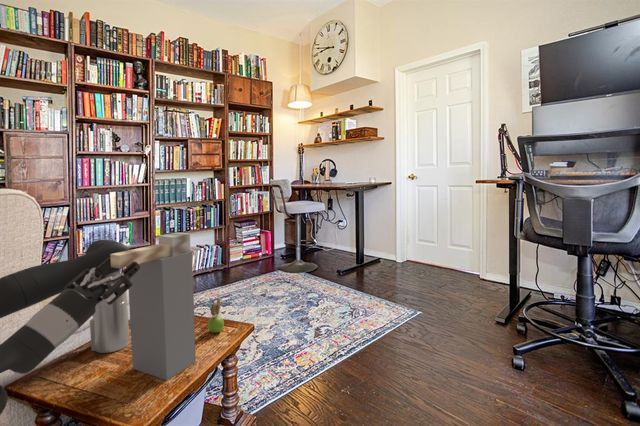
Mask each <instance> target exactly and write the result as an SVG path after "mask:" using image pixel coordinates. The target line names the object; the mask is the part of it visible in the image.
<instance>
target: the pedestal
mask: <svg viewBox="0 0 640 426" xmlns="http://www.w3.org/2000/svg"><path fill="white" fill-rule="evenodd" d="M138 265H139V266H140V269H139V270H138V271H137V272H136V273H135V274H134V275H133V276H132V277H131V278H130V279H129V280H130V282H131V283H132V286H131V287H130V288H129V289H128V301H129V325H130V339H131V358H132V359H131V361H132V369H133V370H135V371H139V372H142V373H144V374H148V375H150V376H153V377H156V378H158V379H162V380H164V381H168V380H169V381H170V379H172V378H173V377H175V376H177V375H178V374H179V373H181V372H183V371H184V370H185V369H187V368H189V367H190V366H192V365H193V364H195V363H196V362H197V361H196V360H197V359H196V354H197V353H196V334H195V333H196V331H195V329H196V328H195V327H196V326H195V301H194V300H195V299H194V298H195V297H194V273H193V272H194V270H193V267H194V266H193V251H191V252H187V253H183V254H180V255H176V256H167V257H163V258H160V259H156V260H152V261H148V262H144V263H140V264H138Z"/></svg>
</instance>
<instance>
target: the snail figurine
mask: <svg viewBox="0 0 640 426" xmlns="http://www.w3.org/2000/svg"><path fill="white" fill-rule="evenodd" d="M216 295H217V298H216V302H213V303H212V304H211V307H210V315H211V317H210V318H209V319H208V321H207V323H206V324H207V329H208V331H209V332H211V333H214V334H216V333H220V332H221V331H222V330H223V328H224V326H225V321H224V319H223V318H222V317H221V316H220V312H221V296H222V294H220V293H219V294H216Z"/></svg>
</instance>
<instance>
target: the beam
mask: <svg viewBox="0 0 640 426" xmlns="http://www.w3.org/2000/svg"><path fill="white" fill-rule="evenodd" d="M187 252H192V251H191V234H190V233H186V232H178V231H177V232H171V233H165V234H160V235H158V244H153V245H149V246H143V247H139V248H138V247H137V248H135V249H134V248H133V249H129V250H128V251H123V252H118V253H114V254H110V258H111V267H114V268H119V269H120V268H122V269H123V268H124V269H125V268H126V267H127V266H129V265H130V264H131V263H132V262H137V263H138V264H140V263H144V262H148V261H152V260H156V259H160V258H163V257H167V256H176V255H180V254H183V253H187Z"/></svg>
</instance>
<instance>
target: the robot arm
mask: <svg viewBox="0 0 640 426" xmlns="http://www.w3.org/2000/svg"><path fill="white" fill-rule="evenodd" d="M128 250H130V249H129V247H128V246H127V245H125V244H123V243H122V242H120V241H115V240H110V239H98V240H95V241H93V242H91V243H90V245H88V247H87V249H86V250H85V254H83V255H80V256H79V257H74V258H72V259H66V260H61V261H55V262H49V263H44V264H39V265H34V266H30V267H28V268H25V269H21V270H18V271H15V272H13V273H10V274H7V275H4V276H2V277H0V319H3V318H5V317H7V316H10V315H12V314H14V313H17V312H19V311H22V310H25V309H27V308H30V307H32V306H33V305H37V304H39V303H40V302H43V301H45V300H47V299H50V298H52V297H54V296H55V297H54V298H53V299H52V300H50V301H49V302H48V303H47V304H46V305H44V306H43V307H42V308H41V309H39V311H37V312H36V313H35V314H33V316H32V317H31V318H30V319H29V320H28V321H26V323H25V324H24V325H22V326H21V327H20V328H18V329H17V330H16V331H15V332H14V333H13V334H11V335H10V336H9V337H8V338H6V340H5V341H4V342H2V343H0V374H2V373H3V372H6V371H9V370H10V371H12V372H13V373H16V374H20V375H24V374H28V373H30V372H31V371H33V370H34V369H35V368H36V367H38V366H39V365H40V364H41V363H42V362H43V361H44V360H45V359H46V358H47V357H48V356H49V355H50V354H51V353H52V352H54V350H56V349H57V348H58V347H60V345H62V344H63V343H64V342H65V341H67V340H69V338H71V336H73V334H75V333H76V332H77V331H78V330H79V329H80V328H81V327H82V326H83V325H84V324H85V323H86V322H87V321H88V320H89V319H90V318H91V317H92V318H91V319H90V320H89V333H90V343H91V344H90V345H91V346H90V347H91V348H90V349H91V352H97V353H100V354H109V353H113V352H118V351H120V350H123V349H124V348H126V347H127V346H129V344H130V332H129V331H130V329H129V311H128V310H129V309H128V295H127V293H128V292H127V291H129V288H130V287H131V286H132V283H131V282H130V280H129V279H130V278H131V277H132V276H133V275H134V274H135V273H136V272H137V271H138V270H139V269H140V266H139V265H138V263H137V262H132V263H131V264H130V265H129V266H127V267H124V269H123V268H120V269H119V268H114V267H111V258H110V254H114V253H118V252H123V251H128ZM122 269H123V270H122ZM120 270H122V271H121V272H120ZM56 295H57V296H56ZM7 403H8V393H7V390H6V389H5V387H3V386H2V385H1V384H0V415H2V414H3V412H4V410H6V407H7Z"/></svg>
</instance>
